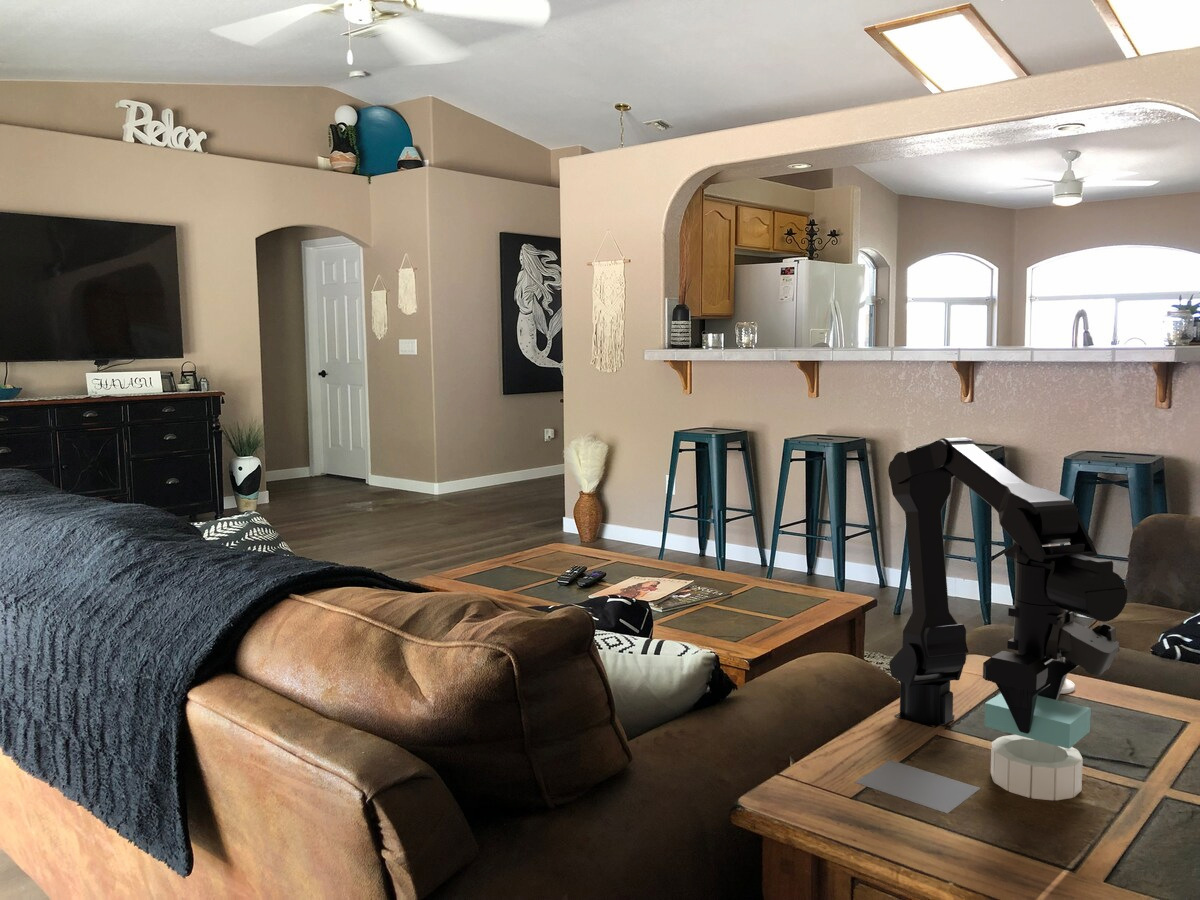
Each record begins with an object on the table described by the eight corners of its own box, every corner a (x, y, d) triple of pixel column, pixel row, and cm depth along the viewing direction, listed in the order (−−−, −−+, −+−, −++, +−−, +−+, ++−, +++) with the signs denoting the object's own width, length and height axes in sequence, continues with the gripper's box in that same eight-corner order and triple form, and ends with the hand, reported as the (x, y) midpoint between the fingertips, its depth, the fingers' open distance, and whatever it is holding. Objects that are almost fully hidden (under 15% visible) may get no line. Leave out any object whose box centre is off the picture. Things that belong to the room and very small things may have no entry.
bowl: (977, 786, 119) (978, 751, 118) (1010, 761, 126) (1011, 728, 125) (1062, 812, 112) (1063, 775, 111) (1092, 784, 119) (1093, 749, 118)
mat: (854, 786, 119) (854, 781, 119) (890, 764, 125) (890, 759, 125) (947, 818, 110) (947, 813, 110) (980, 792, 117) (980, 788, 117)
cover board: (984, 726, 119) (985, 702, 119) (1007, 711, 124) (1008, 688, 124) (1069, 748, 112) (1069, 724, 112) (1089, 731, 117) (1090, 708, 117)
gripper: (1083, 628, 104) (1078, 766, 106) (1137, 596, 117) (1132, 720, 119) (982, 610, 112) (979, 739, 114) (1043, 582, 125) (1039, 698, 127)
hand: (1036, 723), depth 118 cm, fingers closed on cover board, 7 cm apart
